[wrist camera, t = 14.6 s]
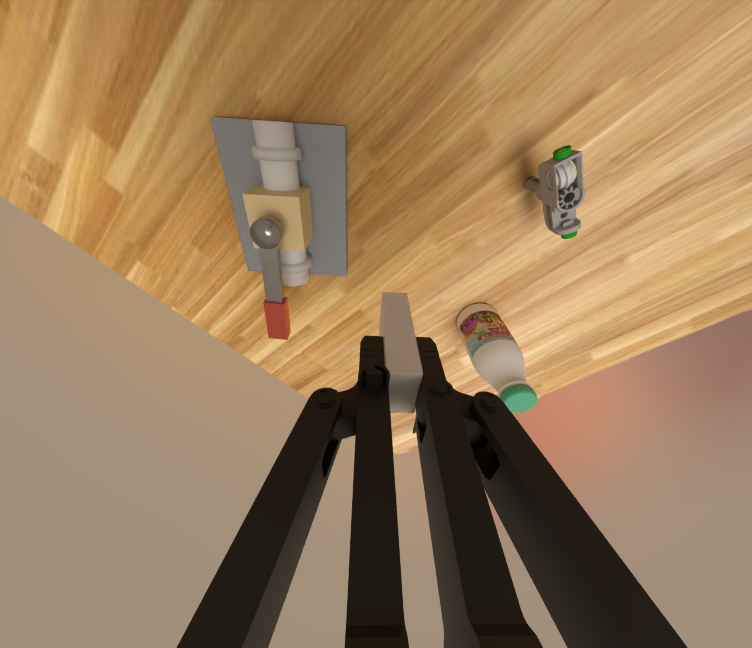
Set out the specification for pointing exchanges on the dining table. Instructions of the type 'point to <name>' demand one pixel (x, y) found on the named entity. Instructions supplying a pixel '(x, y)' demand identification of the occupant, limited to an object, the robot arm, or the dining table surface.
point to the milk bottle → (496, 355)
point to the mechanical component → (560, 190)
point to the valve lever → (272, 274)
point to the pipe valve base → (289, 190)
